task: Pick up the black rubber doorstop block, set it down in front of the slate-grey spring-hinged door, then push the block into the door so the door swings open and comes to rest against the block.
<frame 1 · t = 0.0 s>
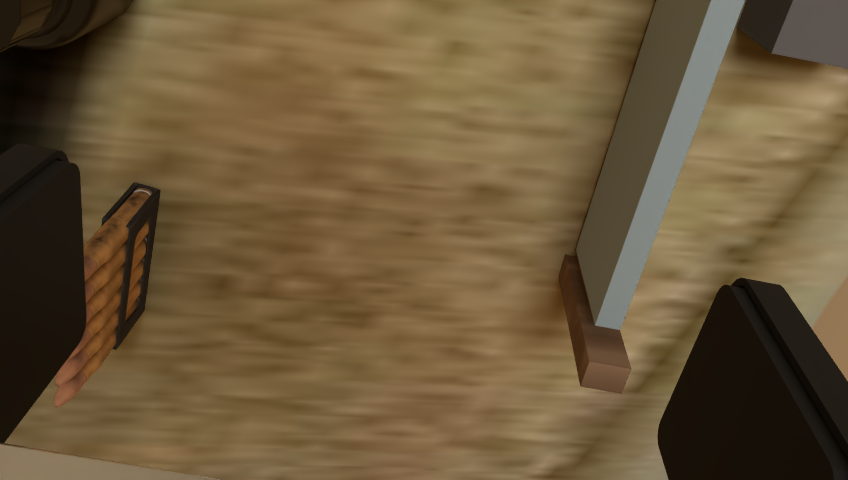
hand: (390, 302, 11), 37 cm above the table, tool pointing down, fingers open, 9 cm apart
door: (664, 90, 41), point 5 cm above the table, hinge at 0.0°
door frame: (646, 62, 46), on the table
ammunition clip: (140, 248, 54), on the table
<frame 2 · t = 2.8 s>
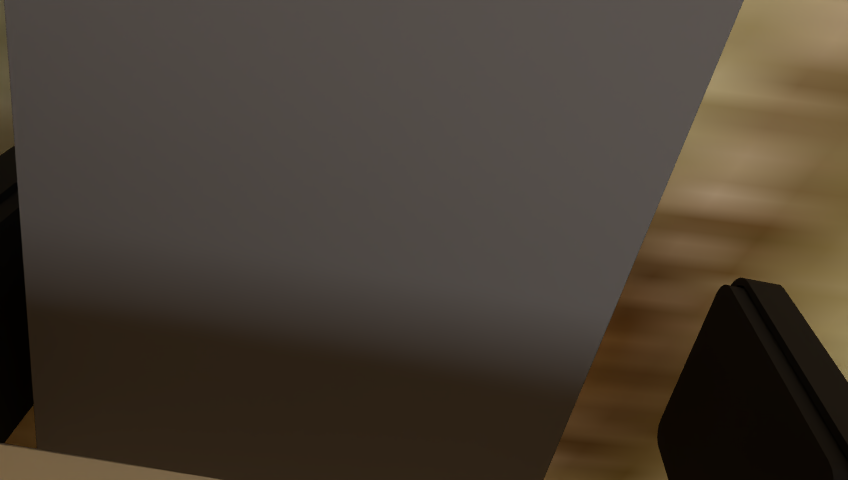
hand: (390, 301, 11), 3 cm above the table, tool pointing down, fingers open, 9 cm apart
doorstop block: (362, 149, 13), on the table
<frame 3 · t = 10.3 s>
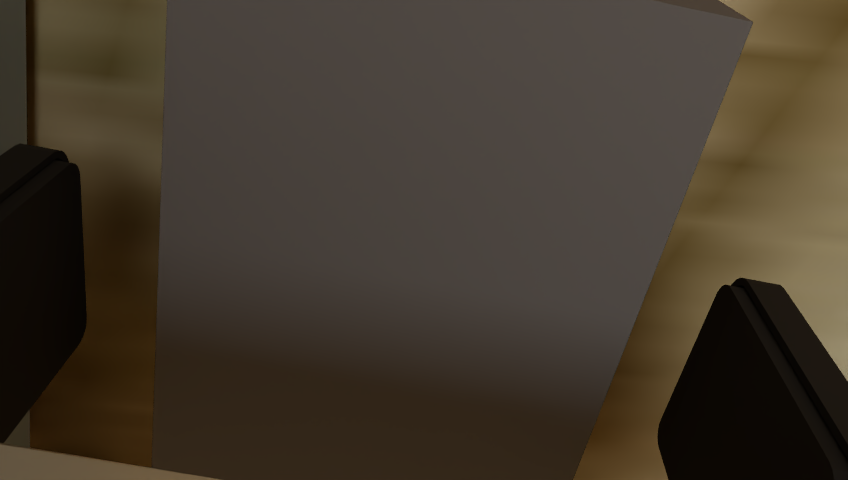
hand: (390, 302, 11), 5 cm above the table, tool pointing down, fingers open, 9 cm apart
doorstop block: (416, 178, 15), on the table
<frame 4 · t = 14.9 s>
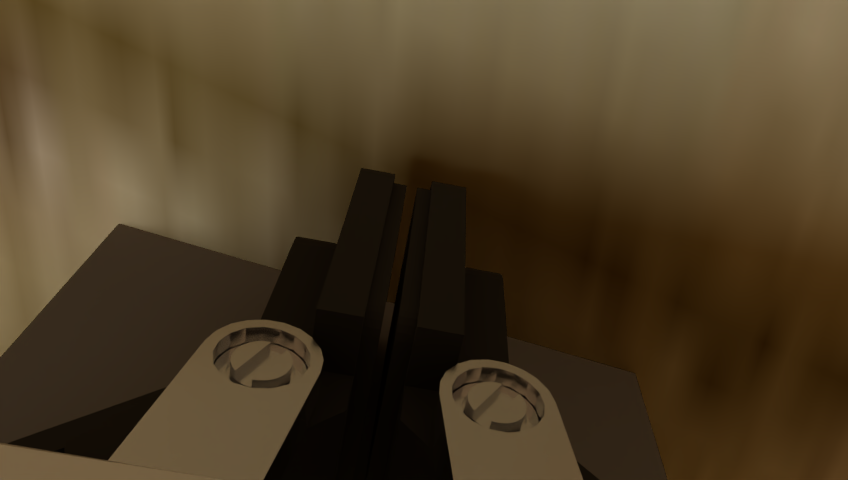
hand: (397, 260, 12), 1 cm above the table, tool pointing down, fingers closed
doorstop block: (347, 412, 16), on the table, touching gripper
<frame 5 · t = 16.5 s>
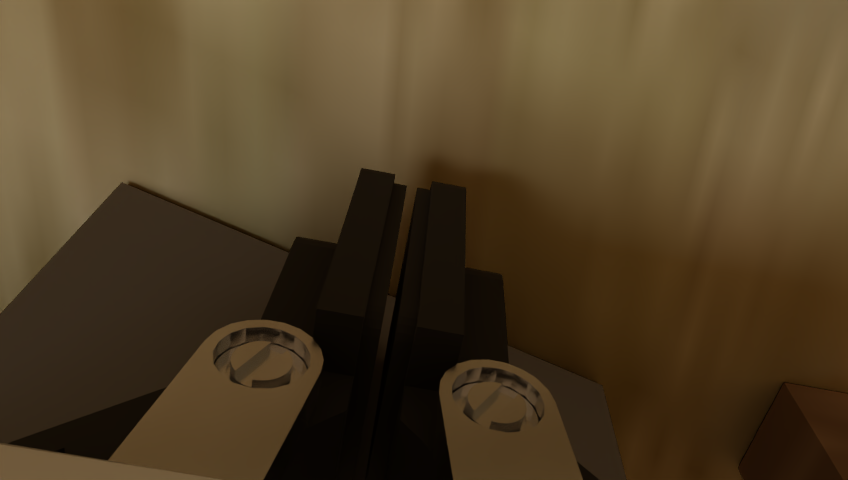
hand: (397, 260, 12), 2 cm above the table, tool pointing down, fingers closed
doorstop block: (318, 397, 16), on the table, touching door, gripper
door frame: (85, 309, 15), on the table
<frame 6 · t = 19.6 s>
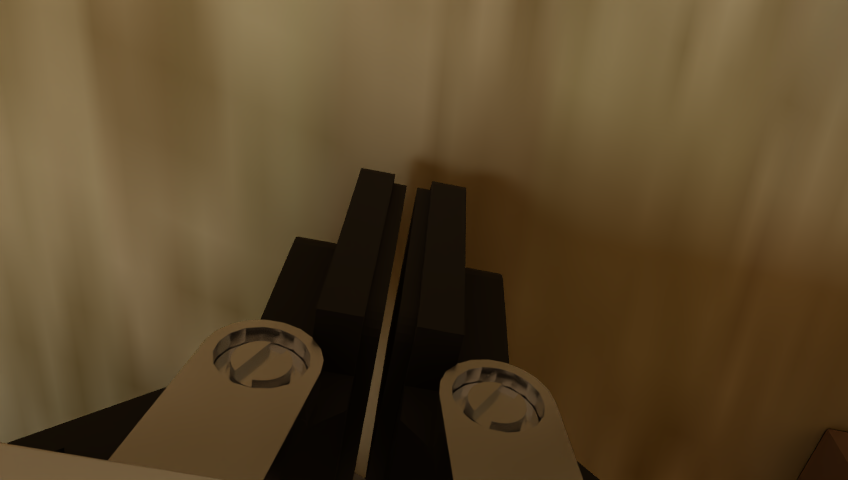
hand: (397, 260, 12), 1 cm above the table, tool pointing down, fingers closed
door frame: (122, 352, 15), on the table
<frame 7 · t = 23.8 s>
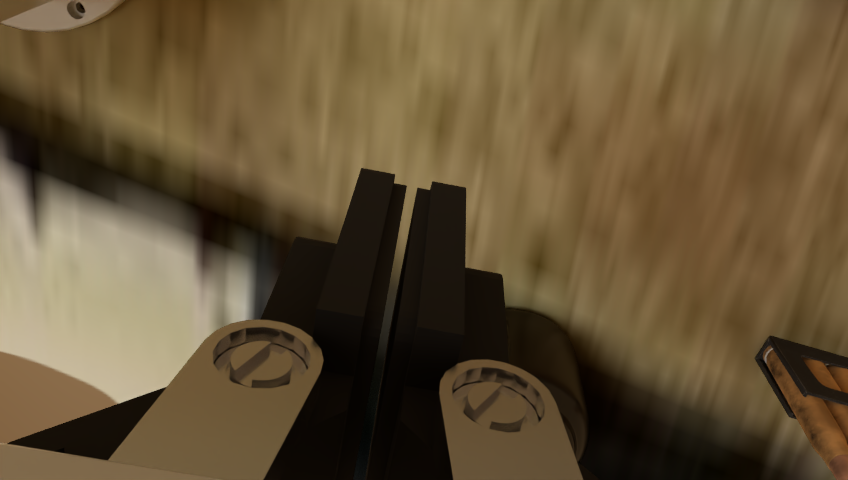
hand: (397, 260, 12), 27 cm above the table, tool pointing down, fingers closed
ink bottle: (504, 361, 47), on the table
ammunition clip: (840, 367, 46), on the table
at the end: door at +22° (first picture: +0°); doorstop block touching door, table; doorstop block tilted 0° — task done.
